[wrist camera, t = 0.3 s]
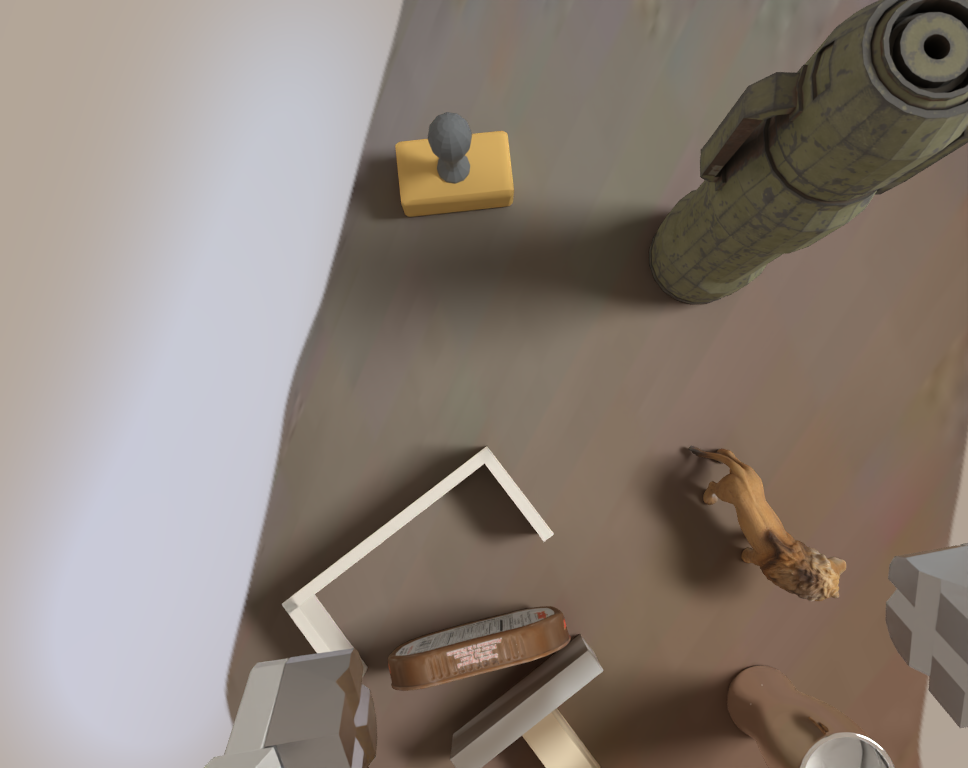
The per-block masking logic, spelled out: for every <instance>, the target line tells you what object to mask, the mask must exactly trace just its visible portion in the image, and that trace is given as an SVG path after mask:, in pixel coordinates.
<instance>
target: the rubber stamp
mask: <svg viewBox="0 0 968 768" xmlns="http://www.w3.org/2000/svg"><path fill="white" fill-rule="evenodd" d="M395 147H396V157H397V167H398V176H399V186H400V196H401V204H402V207H403V210H404V213H405V215H407V216H408V217H413V216H422V215H431V214H441V213H450V212H459V211H468V210H478V209H487V208H496V207H505V206H510V205H511V204H512V203H513V195H514V187H513V178H512V170H511V161H510V152H509V144H508V135H507V133H506V132H504V131H496V132H486V133H477V134H472V133H471V130H470V128H469V125H468V123H467V121H466V120H465V119H463V118H462V117H461V116H459V115H458V114H456V113H449V112H446V113H444V114H441V115H438V116H437V117H436V118H435V120H434V121H433V122H432V123H431V124H430V127H429V133H428V139H422V140H412V141H403V142H399V143H397V144H396V145H395Z"/></svg>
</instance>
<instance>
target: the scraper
mask: <svg viewBox="0 0 968 768" xmlns="http://www.w3.org/2000/svg"><path fill="white" fill-rule="evenodd" d="M602 671H603V669H602V667H601V665H600V663H599V661H598V659H597V657H596V655H595V653H594V652H593V650H592V649H591V648H590V646H589V645H588V644H587V642H586V641H585V640H584V638H583V637H582V636H581V634H579V635H578V636H577V637H576V638H574V639H573V640H572V641H570V642H569V643H568V644H567V645H566V646H565V647H563V648H562V649H560V650H559V651H558V652H557V653H555V654H554V655H553V656H551V657H550V658H549V659H548V660H546V661H545V662H544V663H543V664H541V665H540V666H539V667H538V668H536V669H535V670H534V671H532V672H531V673H530V674H529V675H527V676H526V677H525V678H524V679H522V680H521V681H520V682H519V683H517V684H516V685H515V686H513V687H512V688H511V689H510V690H508V691H507V692H506V693H505V694H503V695H502V696H501V697H500V698H498V699H497V700H496V701H494V702H493V703H492V704H491V705H489V706H488V707H487V708H486V709H484V710H483V711H482V712H481V713H479V714H478V715H477V716H475V717H474V718H473V719H472V720H470V721H469V722H468V723H467V724H465V725H464V726H463V727H462V728H460V729H459V730H458V731H456V732H455V733H454V734H453V739H452V747H451V756H450V760H451V762H452V763H453V764H454V766H455V767H456V768H481V767H483V766H484V765H485V764H487V763H488V762H489V761H490V760H492V759H493V758H494V757H495V756H497V755H498V754H499V753H500V752H502V751H503V750H504V749H505V748H507V747H508V746H509V745H510V744H512V743H513V742H514V741H515V740H517V739H518V738H519V737H521V736H523V738H524V739H525V740H526V742H527V743H528V744H529V746H530V747H531V748H532V750H533V751H534V752H535V754H536V755H537V756H538V758H539V759H540V760H541V762H542V763H543V764H544V766H545V767H546V768H601V767H600V765H599V764H598V763H597V761H596V760H595V759H594V757H593V756H592V755H591V753H590V752H589V751H588V749H587V748H586V747H585V745H584V744H583V743H582V741H581V740H580V739H579V737H578V736H577V735H576V733H575V732H574V731H573V729H572V728H571V727H570V725H569V724H568V723H567V721H566V720H565V719H564V717H563V716H562V714H561V713H560V712H559V710H558V709H557V707H558V706H560V705H561V704H562V703H563V702H565V701H566V700H567V699H568V698H570V697H571V696H572V695H573V694H575V693H576V692H577V691H578V690H580V689H581V688H582V687H584V686H585V685H586V684H587V683H589V682H590V681H591V680H592V679H594V678H595V677H596V676H597V675H599V674H600V673H601V672H602Z"/></svg>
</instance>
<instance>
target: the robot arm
mask: <svg viewBox="0 0 968 768" xmlns="http://www.w3.org/2000/svg"><path fill="white" fill-rule="evenodd" d="M888 579H889V580H890V581H891V582H892V583H893V584H894V585H895V587H896V588H897V590H896V591H895V592H894V593H893V595H892V596H891V597H890V598H889V600H888V601H887V602H886V624H887V627H888V631H889V634H890V638H891V640H892V642H893V644H894V646H895V648H896V649H897V651H898V653H899V654H900V655H901V657H902V658H903V659H904V661H905V662H906V663H907V664H908V666H910V667H912V668H914V669H916V670H918V671H920V672H922V673H924V674H926V675H928V676H929V691H930V692H931V694H932V695H933V696H934V697H935V698H936V700H937V701H938V702H939V703H940V705H941V706H942V707H943V708H944V709H945V711H946V712H947V713H948V714H949V715H950V717H952V719H953V720H954V721H955V723H956V724H957V725H958V726H959V727H960V728H964V727H968V543H965V544H962V545H960V546H951V547H946V548H940V549H934V550H929V551H923V552H917V553H912V554H906V555H901V556H895V557H894V558H893V560H892V562H891V564H890V567H889V577H888ZM363 668H364V667H363V664H362V661H361V658H360V655H359V652H358V650H356V649H355V648H351V649H345V650H338V651H331V652H324V653H317V654H310V655H303V656H296V657H290V658H289V659H280V660H273V661H266V662H259V663H257V664H256V665H255V666H254V667H253V669H252V670H251V672H250V675H249V678H248V681H247V684H246V687H245V691H244V694H243V697H242V700H241V703H240V706H239V709H238V713H237V716H236V719H235V722H234V725H233V728H232V732H231V735H230V738H229V741H228V744H227V747H226V750H225V753H224V756H218V757H214V758H213V759H212V760H211V761H210V762H209V763H208V764H207V765H206V766H205V767H204V768H369V767H368V766H369V765H370V764H371V762H372V761H373V760H374V758H375V757H376V749H377V723H376V713H375V707H374V702H373V698H372V695H371V691H370V689H368V688H367V687H366V686H364V685H363V684H362V677H363Z"/></svg>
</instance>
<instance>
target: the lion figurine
mask: <svg viewBox="0 0 968 768" xmlns="http://www.w3.org/2000/svg"><path fill="white" fill-rule="evenodd" d="M689 450H690V451H691V452H692V453H693V454H695V455H697V456H699V457H705V458H710V459H715V460H717V461H719V462H720V463H724V464H726V465H727V466H728V467H729V468H730V474H728V475H726V476H725V477H723V478H722V479H721V480H720V481H719V482H718V483H715V482H713V481H712V482H710V483H709V486H708V488H707V490H706V491H705V493H704V496H703V499H704V502H705V503H706V504H708V505H712V504H714V503H716V502H717V497H718V498H719V499H721V500H722V501H724V502H728V503H732V504H734V506H735V508H736V512H737V517H738V522H739V525H740V527H741V529H742V531H743V533H744V535H745V536H746V538H747V540H748V542H749V544H750V545H751V546H752V548H753V549H752V548H749V547H747V548H746V549H745V550H744V551H743V553H742V560H743V561H744V562H746V563H754V564H755V565H758V566H760V569H761V570H762V572H763V574H764V575H765V576H766V577H767V579H768V580H770V581H772V582H773V583H774V584H775V585H777V586H779V587H780V588H782V589H784V590H786V591H788V592H789V593H793V594H796V595H798V596H799V597H800V598H803V599H808V600H809V601H822V600H824V599H826V598H829V597H833V598H839V594H838V590H839V587H838V583H839V577H840V574H841V573H842V572H843V571H845V569H846V563H845V561H844V560H842V559H838V558H836V557H831V558H829V559H827V558H826V557H825V556H824V555H823V554H820V553H819V552H818V551H817V550H816V549H813V548H808V547H807V546H806V545H805V544H804V543H802V542H800V541H796V540H794V538H793V537H792V536H791V535H790V534H789V533H787V532H786V531H785V529H784V527H783V525H782V523H781V521H780V519H779V518H778V517H777V515H776V514H775V512H774V511H773V510H772V508H771V507H770V506H769V505H768V503H767V502H766V500H765V496H764V490H763V484H762V481H761V479H760V478H759V476H758V475H757V474H756V472H755V471H754V470H753V469H752V468H751V467H750V466H748V465H746V464H744V463H742V462H740V461H739V460H738V459H737V458H736V457H735V456H734V454H733V453H732V452H731V451H729V450H725V449H719V450H718V451H717V452H716V453H710V452H704V451H701V450H700V449H699V448H696V447H694V446H690V447H689Z"/></svg>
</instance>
